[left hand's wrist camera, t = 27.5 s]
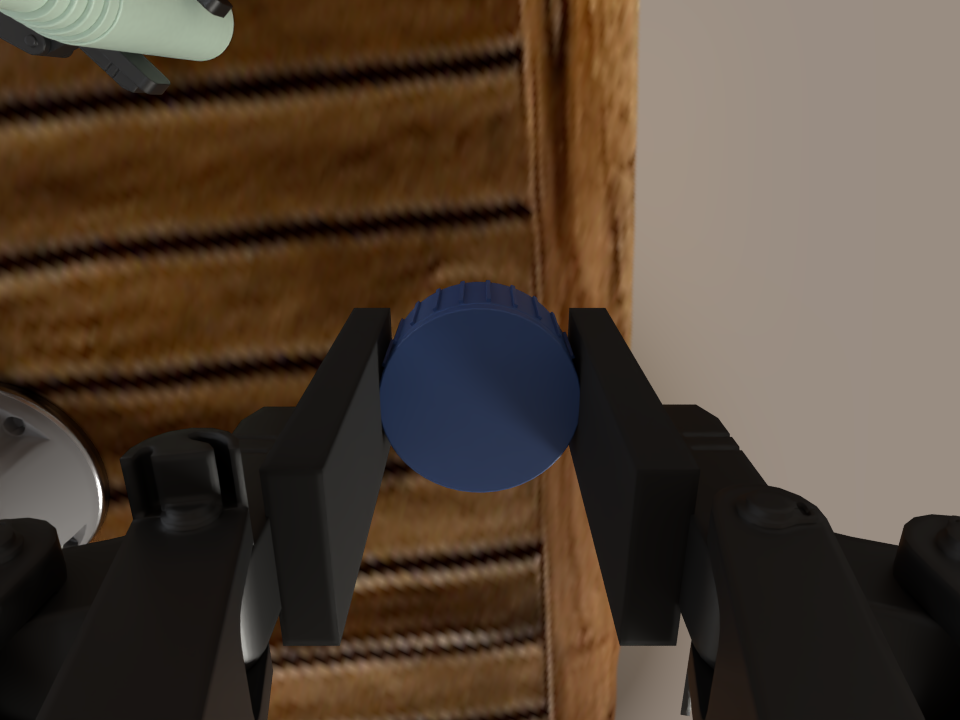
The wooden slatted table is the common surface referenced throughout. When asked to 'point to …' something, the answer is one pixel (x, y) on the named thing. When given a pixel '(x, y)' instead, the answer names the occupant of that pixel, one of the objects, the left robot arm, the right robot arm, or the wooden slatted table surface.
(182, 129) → the wooden slatted table surface
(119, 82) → the right robot arm
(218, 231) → the wooden slatted table surface
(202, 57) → the bottle
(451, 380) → the cap
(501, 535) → the wooden slatted table surface
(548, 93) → the wooden slatted table surface
